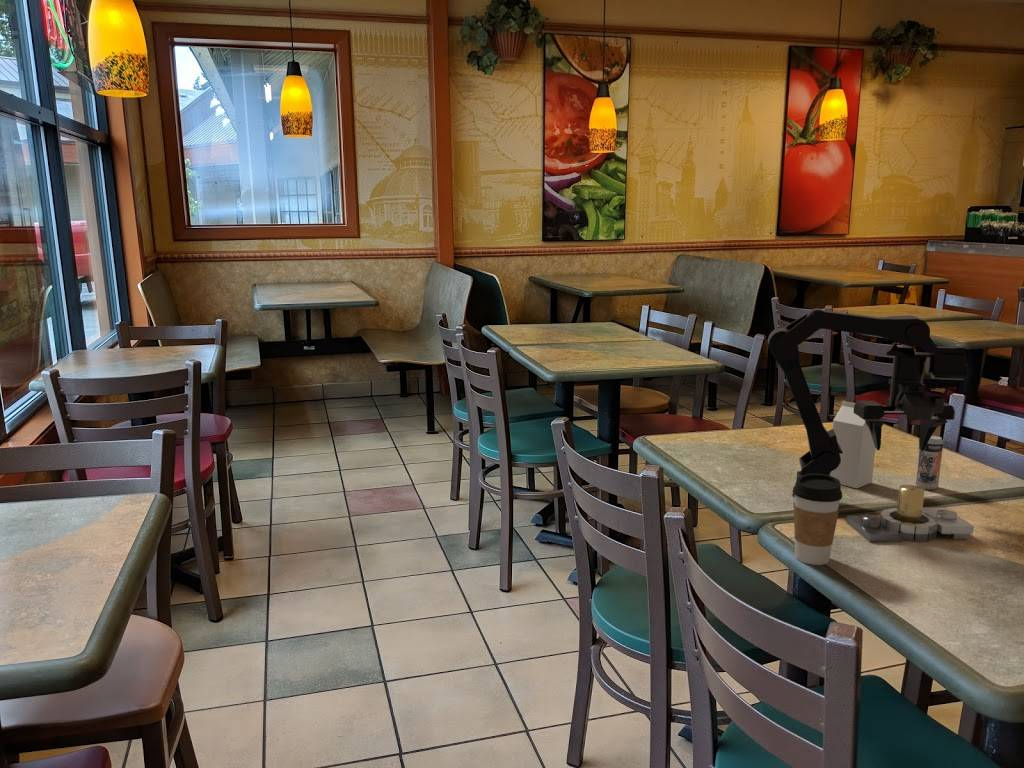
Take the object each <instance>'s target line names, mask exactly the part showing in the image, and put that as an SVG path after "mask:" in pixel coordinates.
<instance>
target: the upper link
mask: <svg viewBox="0 0 1024 768" xmlns="http://www.w3.org/2000/svg"><path fill="white" fill-rule="evenodd" d="M896 516H897V507H893V508H892V507H891V508H887V509H882V510H881V512H880V517H881V518H882V520H881V523H882V524H883V525H885V526H886V527H888V528H890V529H893V530H896V531H900V532H905V533H911V534H914V533H915V534H930V533H933V532H936V531H937V532H938V533H939V534H941V535H948V537H951V538H952V539H953V540H969V539H970V536H971V535H970V534H974V528H975V526H974V525H973V524H971V523H970V522H968V521H967V520H965V519H963V518H962V517H960V516H959V515H958V513H957V512H955V511H953V510H949V509H947V508H946V507H923V509H922V518H921V522H923V523H924V524H911V523H905V522H901V521H898V520H895V519H893V518H896ZM968 538H969V539H968Z"/></svg>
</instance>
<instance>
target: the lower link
mask: <svg viewBox="0 0 1024 768" xmlns="http://www.w3.org/2000/svg"><path fill="white" fill-rule="evenodd" d="M893 519H895V520H896V518H893ZM881 520H882V518H881V516H878V515H876V514H869V513H866V514H862V515H846V523H847V525H849V526H850V527H851V528H852V529H853V530H854V531H856V532H857V533H858V534H859V535H860V536H862V537H863V538H864V539H865V540H866V541H868V542H869V543H899V542H900V543H901V542H902V541H910V542H916V541H919V542H930V541H933V540H935V538H937V532H938V531H936V532H933V533H930V534H915V533H914V534H911V533H905V532H900V531H896V530H893V529H890V528H888V527H886V526H885V525H883V524H882V523H881ZM921 524H924V523H923V522H921ZM902 539H903V540H902Z"/></svg>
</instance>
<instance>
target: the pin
mask: <svg viewBox="0 0 1024 768" xmlns="http://www.w3.org/2000/svg"><path fill="white" fill-rule="evenodd" d="M925 490H926V489H923V488H922V487H919V486H917V485H915V484H901V485H900V486H899V489H898V497H897V498H898V499H897V507H896V508H897V516H896V520H898V521H901V522H905V523H911V524H921V518H922V509H923V508H924V499H925V498H924V497H925Z"/></svg>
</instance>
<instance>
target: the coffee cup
mask: <svg viewBox="0 0 1024 768" xmlns="http://www.w3.org/2000/svg"><path fill="white" fill-rule="evenodd" d="M796 479H797V480H796ZM796 479H795V481H796V482H795V484H794V486H793V489H792V493H793V494H794V495H795V498H794V502H793V525H794V526H793V527H794V528H793V530H794V534H793V535H794V556H795V559H796V560H797V561H799V562H801V563H804V564H807V565H813V566H822V565H823V566H824V565H827V564H828V563H830V558H831V552H832V546H833V543H834V537H835V532H836V528H837V527H836V526H837V523H838V517H839V512H840V507H839V506H840V500H842V499H843V492H842V489H841V486H842V485H841V484H840V481H839V480H838V479H837V478H835V477H832V476H829V475H825V474H806V475H803V476H800V477H799V478H797V477H796Z"/></svg>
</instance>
